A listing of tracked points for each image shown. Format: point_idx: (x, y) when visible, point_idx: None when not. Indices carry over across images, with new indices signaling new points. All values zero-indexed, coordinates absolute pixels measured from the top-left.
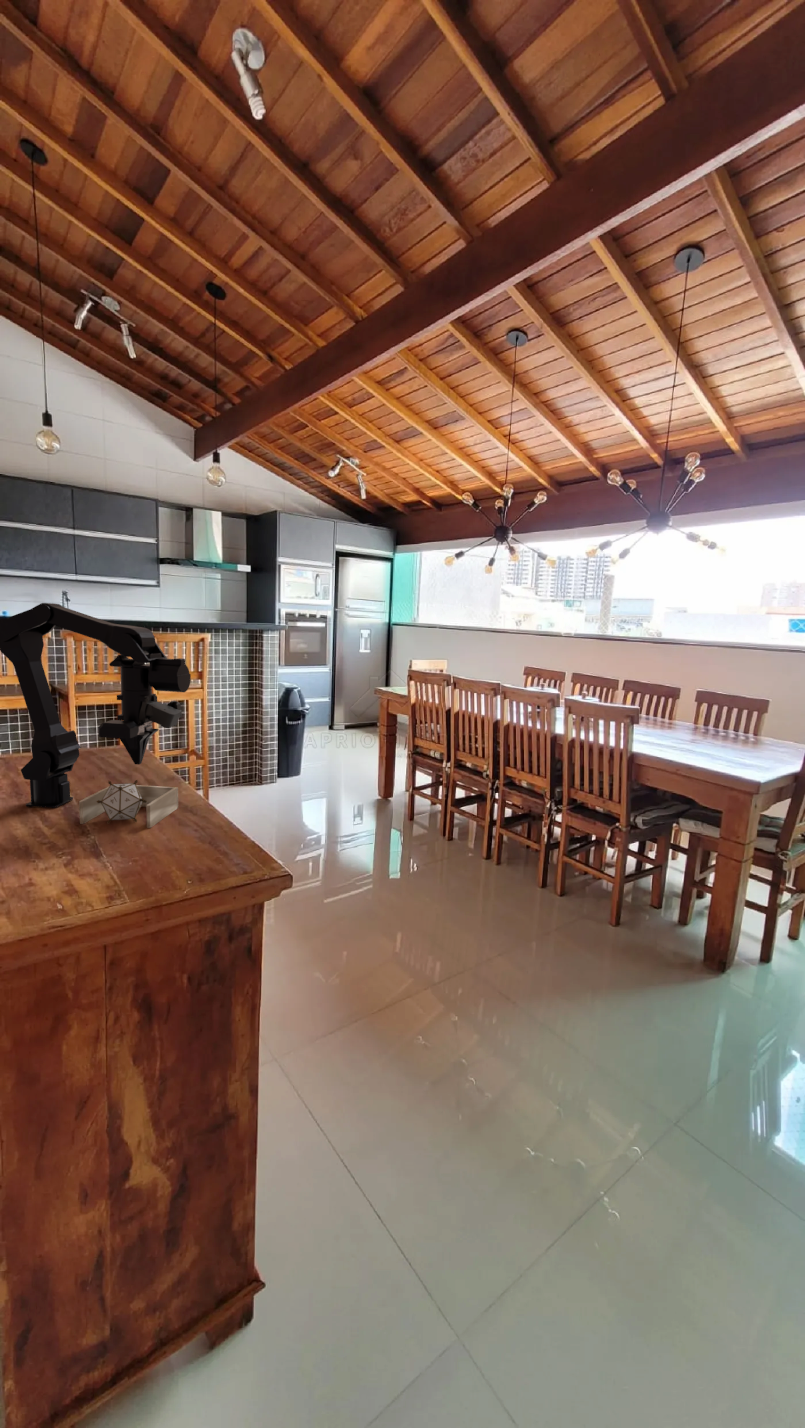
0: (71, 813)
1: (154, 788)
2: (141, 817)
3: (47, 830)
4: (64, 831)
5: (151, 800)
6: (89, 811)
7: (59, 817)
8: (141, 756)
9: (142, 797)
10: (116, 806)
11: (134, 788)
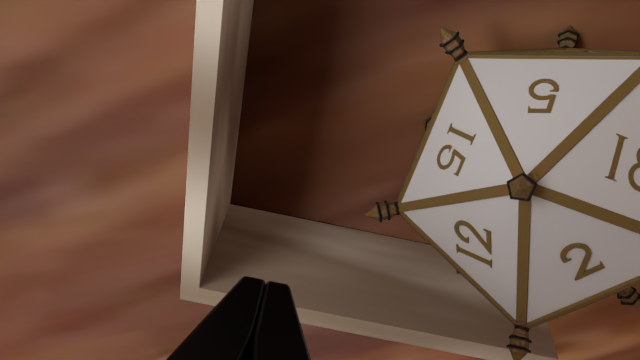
0: None
1: (222, 35)
2: (466, 21)
3: (582, 352)
4: (618, 302)
5: (243, 25)
6: None
7: (413, 353)
8: (259, 344)
9: (233, 94)
10: None
11: (587, 159)
